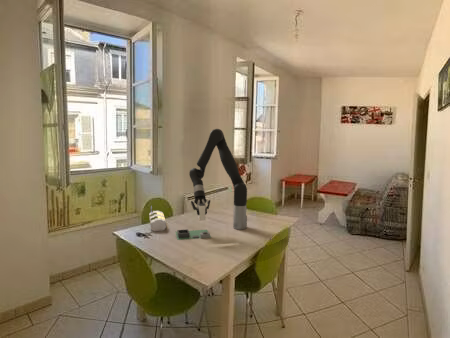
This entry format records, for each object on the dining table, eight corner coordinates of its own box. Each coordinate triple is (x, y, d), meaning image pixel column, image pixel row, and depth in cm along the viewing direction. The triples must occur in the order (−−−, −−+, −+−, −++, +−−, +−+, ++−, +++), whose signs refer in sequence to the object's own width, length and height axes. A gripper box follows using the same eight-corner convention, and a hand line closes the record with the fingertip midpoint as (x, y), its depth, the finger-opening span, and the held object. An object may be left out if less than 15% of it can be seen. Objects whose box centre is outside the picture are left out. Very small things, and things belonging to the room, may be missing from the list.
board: (206, 231, 221) (206, 225, 220) (211, 239, 205) (211, 233, 205) (175, 233, 215) (175, 227, 215) (177, 242, 200) (177, 235, 199)
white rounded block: (149, 220, 244) (149, 204, 242) (163, 220, 247) (162, 203, 245) (151, 231, 220) (150, 213, 218) (166, 230, 223) (166, 212, 221)
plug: (204, 218, 214) (204, 203, 212) (205, 220, 210) (205, 204, 208) (198, 218, 213) (198, 203, 211) (199, 220, 209) (199, 205, 207)
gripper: (189, 190, 214) (192, 212, 204) (210, 189, 217) (213, 211, 207) (188, 196, 220) (191, 218, 210) (208, 195, 223) (212, 216, 213)
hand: (202, 214), depth 209 cm, fingers closed on plug, 4 cm apart
